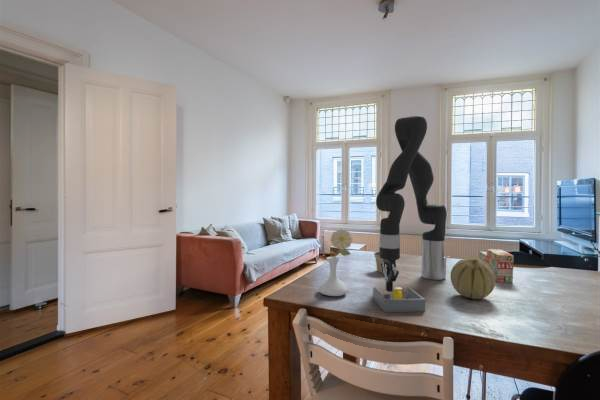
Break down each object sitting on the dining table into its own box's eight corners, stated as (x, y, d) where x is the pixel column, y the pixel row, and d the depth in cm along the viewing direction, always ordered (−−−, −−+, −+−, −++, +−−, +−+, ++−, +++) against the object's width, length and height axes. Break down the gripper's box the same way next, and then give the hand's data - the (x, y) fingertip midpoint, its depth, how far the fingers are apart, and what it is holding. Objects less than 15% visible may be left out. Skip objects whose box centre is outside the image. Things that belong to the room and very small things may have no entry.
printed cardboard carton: (478, 269, 154) (479, 245, 153) (492, 270, 153) (493, 245, 152) (496, 282, 133) (497, 254, 132) (513, 283, 132) (514, 255, 131)
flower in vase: (313, 296, 115) (314, 229, 114) (323, 287, 125) (323, 226, 124) (348, 301, 110) (349, 231, 109) (355, 291, 120) (355, 227, 119)
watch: (391, 302, 110) (391, 285, 110) (399, 302, 110) (399, 285, 110) (396, 307, 104) (396, 290, 104) (404, 307, 104) (404, 290, 104)
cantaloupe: (474, 290, 123) (475, 252, 122) (505, 303, 108) (506, 261, 108) (441, 292, 120) (441, 253, 120) (467, 306, 106) (468, 263, 105)
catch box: (409, 297, 114) (409, 286, 114) (425, 311, 101) (425, 299, 101) (372, 298, 113) (373, 287, 113) (384, 312, 100) (384, 300, 100)
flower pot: (370, 271, 149) (370, 254, 148) (377, 267, 156) (377, 250, 156) (389, 275, 143) (390, 256, 143) (396, 270, 151) (396, 253, 151)
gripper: (406, 249, 110) (405, 296, 111) (392, 242, 124) (392, 285, 124) (386, 249, 110) (385, 297, 111) (374, 242, 123) (374, 285, 124)
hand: (389, 290), depth 117 cm, fingers closed
